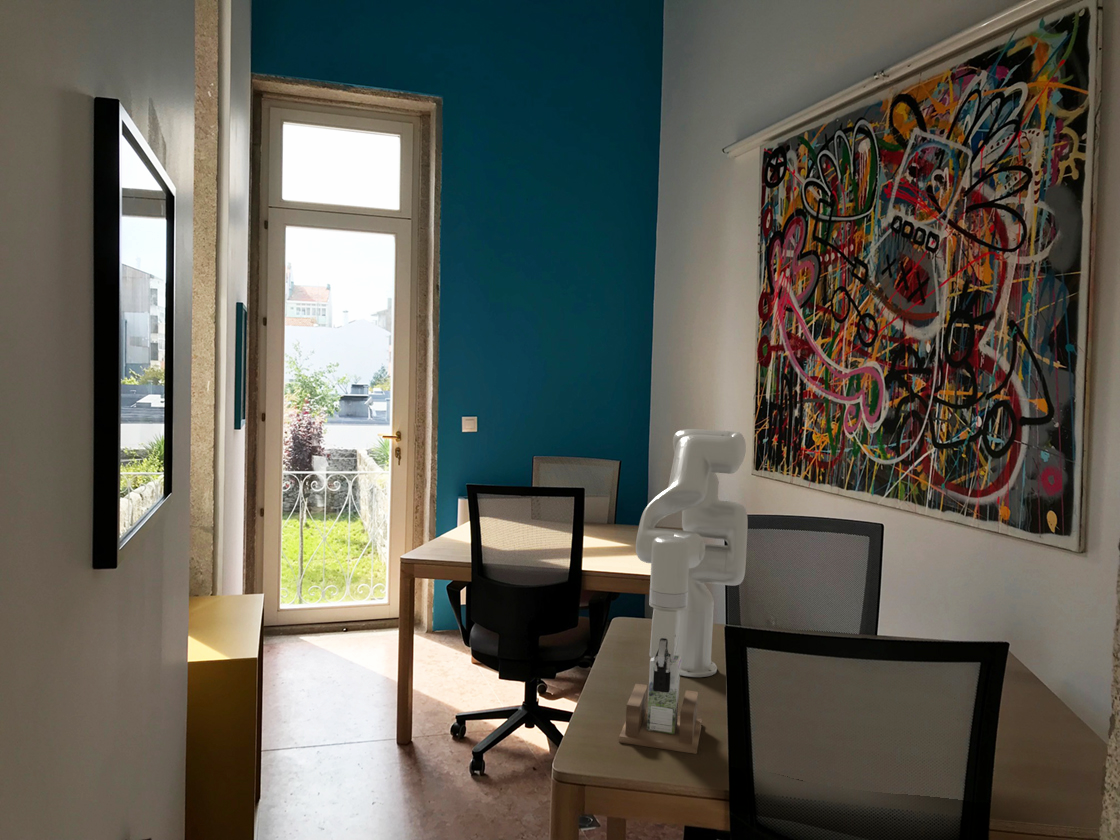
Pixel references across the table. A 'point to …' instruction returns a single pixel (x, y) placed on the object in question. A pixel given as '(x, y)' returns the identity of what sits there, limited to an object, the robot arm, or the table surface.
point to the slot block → (639, 735)
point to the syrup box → (664, 700)
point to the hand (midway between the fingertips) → (664, 682)
